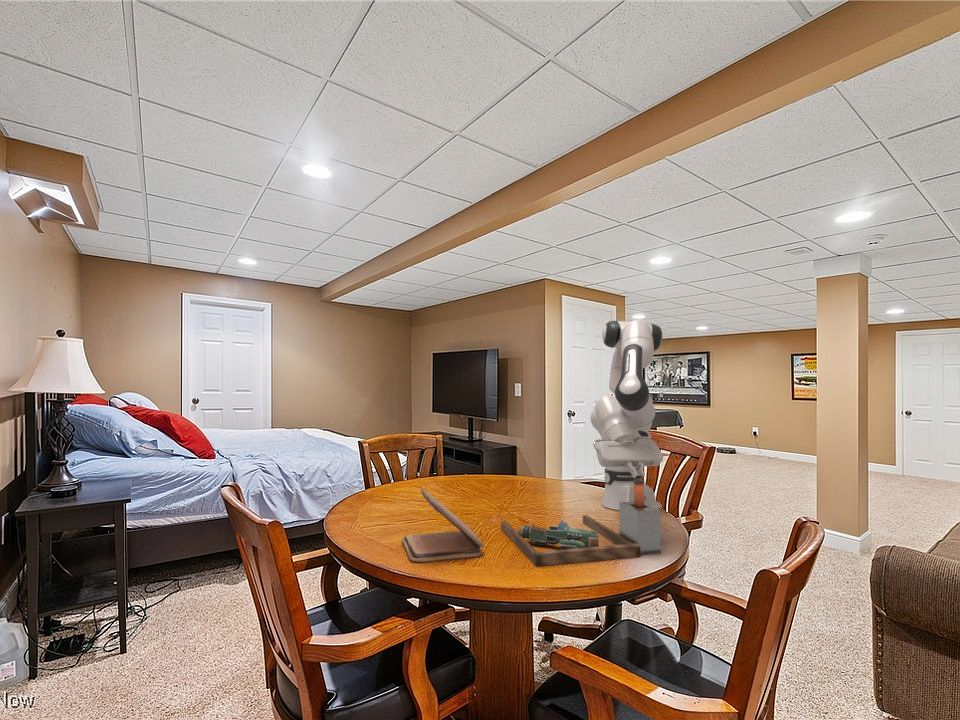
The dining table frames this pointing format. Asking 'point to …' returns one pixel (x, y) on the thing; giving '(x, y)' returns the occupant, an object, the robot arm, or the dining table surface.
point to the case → (443, 539)
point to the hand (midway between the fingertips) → (639, 476)
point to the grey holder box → (640, 526)
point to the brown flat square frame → (578, 554)
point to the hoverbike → (560, 536)
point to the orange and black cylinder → (638, 493)
